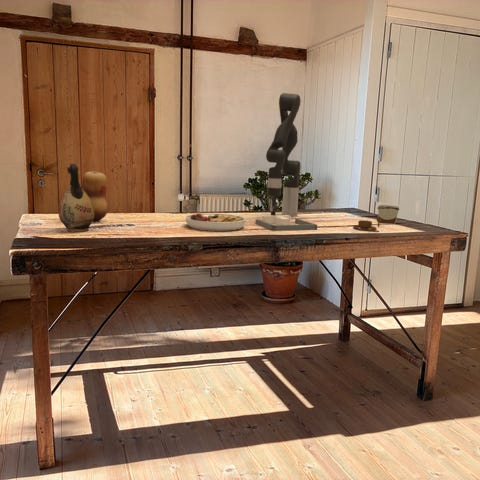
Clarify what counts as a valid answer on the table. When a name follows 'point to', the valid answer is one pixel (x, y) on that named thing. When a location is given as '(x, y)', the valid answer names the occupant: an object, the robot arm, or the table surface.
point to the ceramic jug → (76, 205)
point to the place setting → (367, 225)
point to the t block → (277, 219)
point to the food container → (388, 214)
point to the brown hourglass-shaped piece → (96, 192)
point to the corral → (302, 225)
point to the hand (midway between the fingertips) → (272, 218)
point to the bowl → (215, 222)
